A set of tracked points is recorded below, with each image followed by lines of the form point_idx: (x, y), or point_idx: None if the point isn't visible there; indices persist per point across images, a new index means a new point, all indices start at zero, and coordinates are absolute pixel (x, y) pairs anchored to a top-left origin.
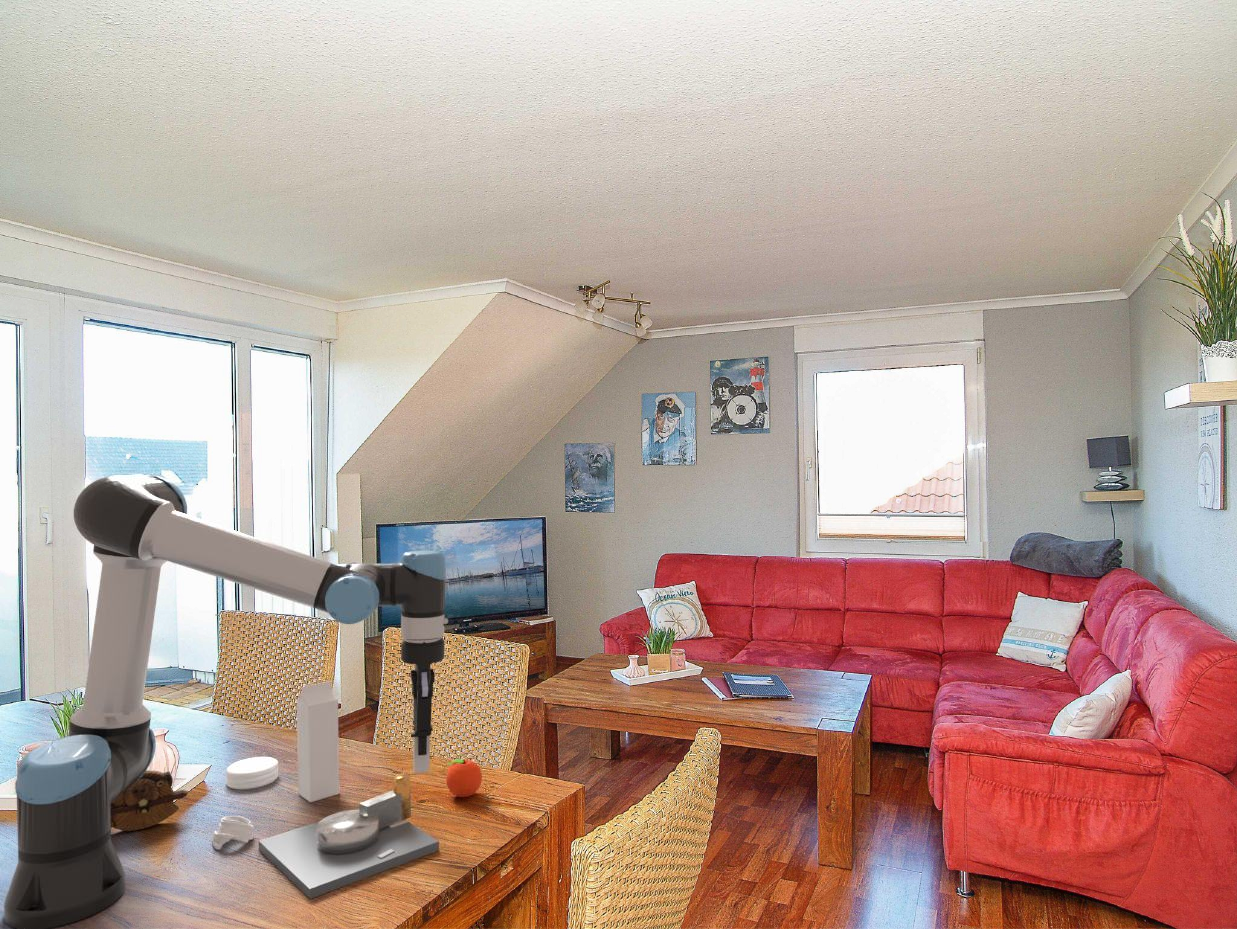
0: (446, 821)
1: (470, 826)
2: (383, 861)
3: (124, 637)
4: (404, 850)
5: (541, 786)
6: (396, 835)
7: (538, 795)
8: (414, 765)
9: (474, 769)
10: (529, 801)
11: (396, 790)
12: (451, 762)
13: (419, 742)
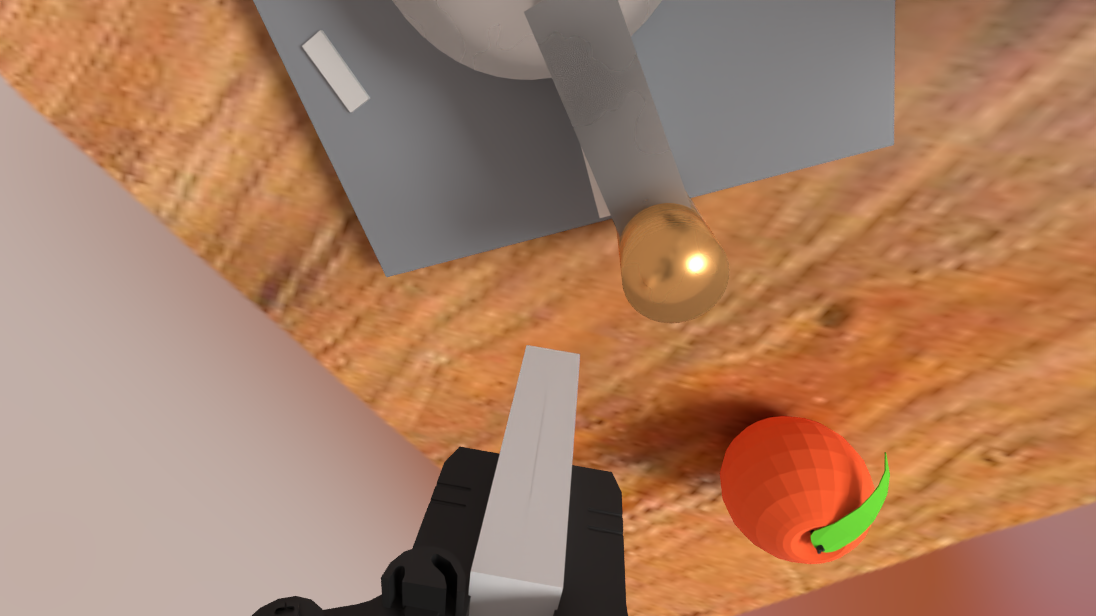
0: (603, 339)
1: None
2: (280, 50)
3: None
4: (352, 150)
5: (686, 596)
6: (495, 148)
7: (633, 573)
8: (520, 377)
9: (755, 541)
10: None
11: (637, 219)
12: (861, 508)
13: (416, 545)
